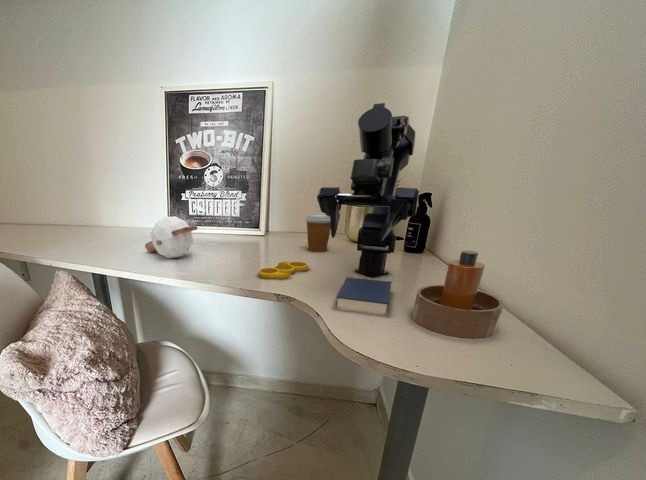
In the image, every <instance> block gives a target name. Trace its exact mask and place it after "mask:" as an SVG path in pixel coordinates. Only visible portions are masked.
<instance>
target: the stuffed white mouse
mask: <svg viewBox="0 0 646 480" xmlns="http://www.w3.org/2000/svg"><path fill="white" fill-rule="evenodd" d="M197 230H198V226H197V225H190V226H189V223H188V222H187V221H186V220H183V219H182V218H179V217H178V216H163V217H162V218H160V219H159V220H158V221H157V222H156V223H155V224H154V226H153V228H152V229H151V232H150V236H151V241H148V242H146V243H145V244H144V248H145V249H146V251H147V252H150V253H156V252H157V253H158V254H159V255H161V256H163V257H165V258H166V259H178V258H182V257H183V256H184V255H185V254H186V253H188V252H189V250H190V249H191V247H192V245H193V243H194V240H193V234H192V232H193V231H197Z"/></svg>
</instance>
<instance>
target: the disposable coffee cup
mask: <svg viewBox="0 0 646 480" xmlns="http://www.w3.org/2000/svg"><path fill="white" fill-rule="evenodd" d="M305 222H306V233H307V234H306V235H307V249H308V251H310V252H314V253H316V252H318V253H319V252H326V251H327V250H328V243H329V240H330V234H331V223H330V216H327V215H326V213H323V212H321V213H308V214H306V218H305Z"/></svg>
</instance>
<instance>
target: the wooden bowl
mask: <svg viewBox="0 0 646 480" xmlns="http://www.w3.org/2000/svg"><path fill="white" fill-rule="evenodd" d="M443 287H444V284H432V285H431V284H430V285H425V286H421V287H420V288H418V289H417V290H416V295H415V301H414V306H413V309H412V310H413V311H412V315H411V317H412V319H413V321H414V322H415V323H416V324H417V325H418V324H419V326H421V327H422V328H425V329H427V330H429V331H430V332H431V331H432V332H434V333H437V334H441V335H444V336H450V337H453V338H454V337H455V338H461V339H463V338H464V339H482V338H487V337H491V336H493V335H494V334H495V333H496V331H497V328H498V325H499V322H500V319H501V316H502V313H503V311H504V310H503V309H504V307H505V304H504V302H503V300H502V299H500V298H499V297H497V296H496V295H493V294H491V293H489V292H486V291H483V290H479V289H478V292H477V296H476V299H475V303H474V307H473V310H465V309H459V308H452V307H448V306H444V305H440V299H441V295H442V291H443Z"/></svg>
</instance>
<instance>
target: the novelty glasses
mask: <svg viewBox="0 0 646 480" xmlns="http://www.w3.org/2000/svg"><path fill="white" fill-rule="evenodd" d="M308 269H309V264H308V263H306V262H304V261H281V262H279V263H277V265H275V266H274V267H264V268H261V269H259V271H258V276H259V277H260V278H263V279H271V280H282V279H288V278H290V277H291V275H293V274H294V273H295V272H305V271H307V270H308Z"/></svg>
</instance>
